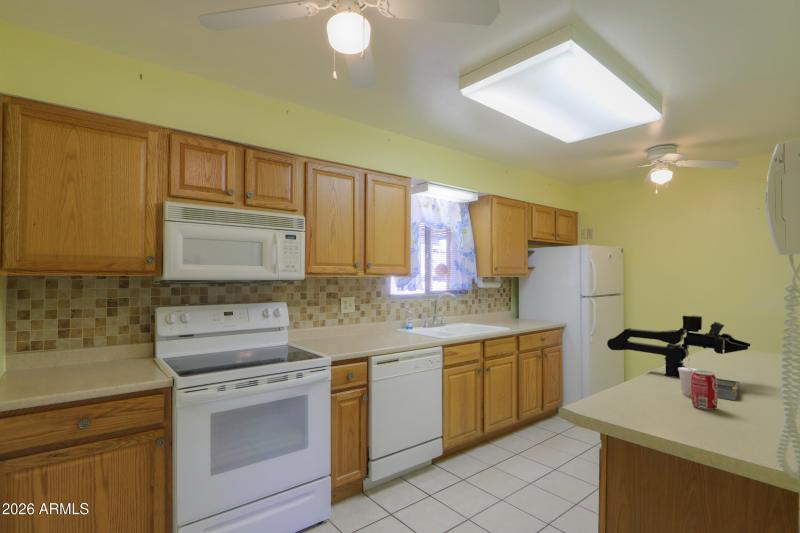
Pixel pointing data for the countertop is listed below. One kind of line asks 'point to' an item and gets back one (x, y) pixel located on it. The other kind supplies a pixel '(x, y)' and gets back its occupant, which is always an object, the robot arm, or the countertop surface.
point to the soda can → (704, 390)
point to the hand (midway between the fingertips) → (749, 346)
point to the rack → (727, 389)
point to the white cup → (686, 379)
